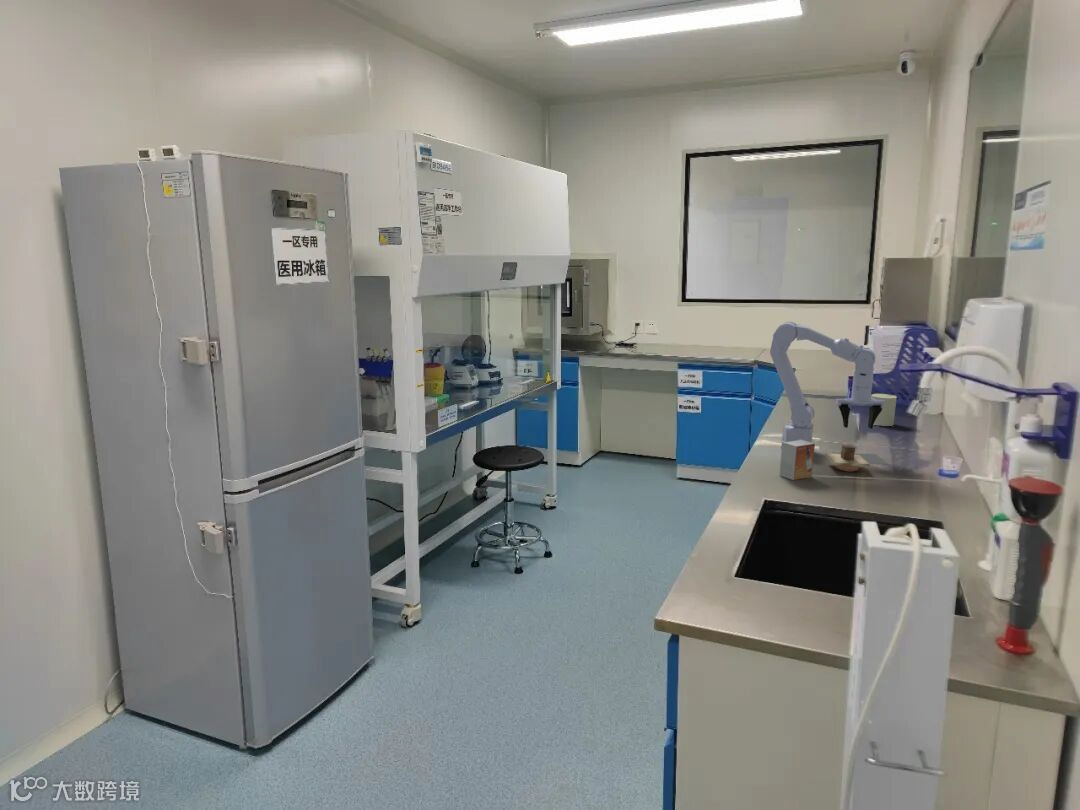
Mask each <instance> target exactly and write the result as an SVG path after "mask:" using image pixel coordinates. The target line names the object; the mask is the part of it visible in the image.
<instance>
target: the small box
mask: <svg viewBox="0 0 1080 810" xmlns="http://www.w3.org/2000/svg"><path fill="white" fill-rule="evenodd" d="M781 444H782V448H781V452H780V453H781V454H780V462H779V463H780V464H779V476H780V477H783V478H786V479H787V480H792V481H796V480H801V479H808V478H812V477H813V466H814V459H815V458H814V457H815V447H816V444H815V443H814V442H812V443H811V442H808V441H804V440H796V441H790V442H782V441H781Z"/></svg>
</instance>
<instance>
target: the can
mask: <svg viewBox="0 0 1080 810" xmlns="http://www.w3.org/2000/svg"><path fill="white" fill-rule="evenodd" d="M897 398H898V396H896V395H893V394H887V393H871V399H875V400H884V401H885V407H881V408H882V411H881V412H880V414H879V415H878V417H877V418H876V420H875V422H874V425H882V426H892V425H894V424H895V415H896V413H895V412H896V404H897ZM874 425H873V426H874ZM894 426H895V425H894ZM892 427H893V426H892Z"/></svg>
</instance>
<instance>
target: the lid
mask: <svg viewBox="0 0 1080 810" xmlns="http://www.w3.org/2000/svg"><path fill="white" fill-rule="evenodd" d="M840 453H841V454H833V453H827V452H826V453H825V457H826V458H827V460H829V461H830V462H831V463H832V464H833V465H834V466H835V465H845V466H859V467H869V468H870V465H871V464H869V463H868V462H867V461H866V460H864V459H863V458H862V457H861V456H860V455H854V454H855V453H856V447H855V446H854V445H853V444H841V450H840Z"/></svg>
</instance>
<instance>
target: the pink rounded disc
mask: <svg viewBox="0 0 1080 810" xmlns="http://www.w3.org/2000/svg"><path fill="white" fill-rule="evenodd" d="M834 468H835V469H837V470H839V471H842V472H851V473H853V472H855V471H856V472H857V471H859V470H860V466H845V465H834Z"/></svg>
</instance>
